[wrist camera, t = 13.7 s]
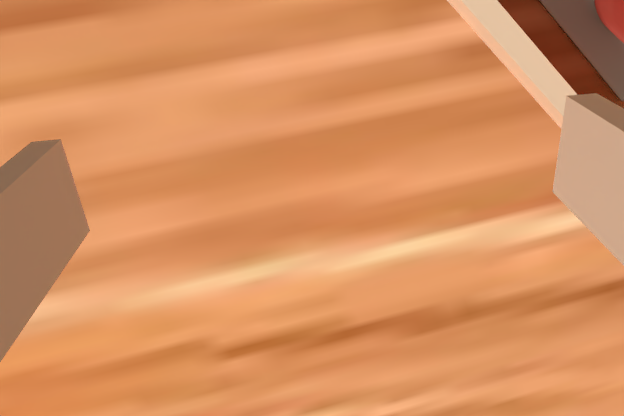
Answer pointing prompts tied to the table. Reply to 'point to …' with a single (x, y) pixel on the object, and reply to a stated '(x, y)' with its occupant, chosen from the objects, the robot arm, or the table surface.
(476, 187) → the table surface
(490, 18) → the corner wall
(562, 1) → the pad
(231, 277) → the table surface
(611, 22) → the flower pot
